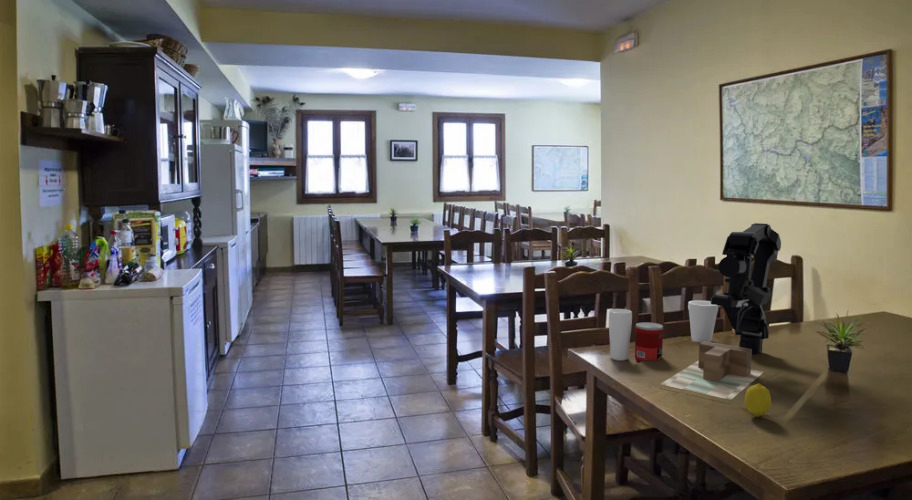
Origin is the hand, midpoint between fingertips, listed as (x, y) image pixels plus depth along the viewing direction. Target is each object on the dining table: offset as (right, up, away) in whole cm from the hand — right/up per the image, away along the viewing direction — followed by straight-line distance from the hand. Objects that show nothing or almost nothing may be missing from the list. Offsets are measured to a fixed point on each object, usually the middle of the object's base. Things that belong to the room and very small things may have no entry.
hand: (735, 329), depth 183 cm
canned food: (-22, -11, +9) cm, 27 cm away
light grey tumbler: (-31, -11, +11) cm, 34 cm away
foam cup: (+3, -8, +32) cm, 33 cm away
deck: (-11, -13, -11) cm, 20 cm away
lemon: (-11, -16, -36) cm, 41 cm away
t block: (-8, -11, -8) cm, 16 cm away
